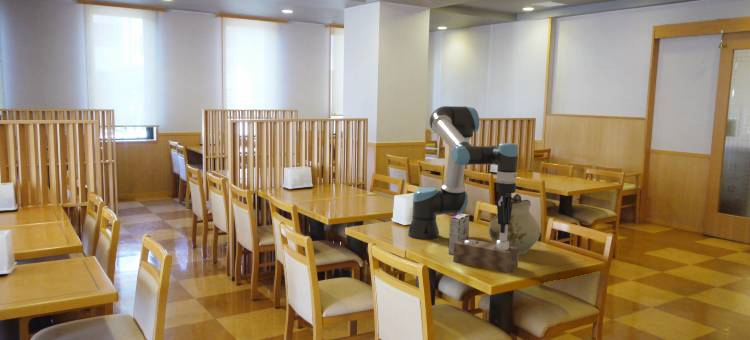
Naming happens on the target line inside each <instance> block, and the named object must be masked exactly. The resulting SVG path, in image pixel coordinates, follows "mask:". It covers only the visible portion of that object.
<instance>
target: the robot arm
mask: <svg viewBox="0 0 750 340" xmlns="http://www.w3.org/2000/svg"><path fill="white" fill-rule="evenodd" d="M429 126H430V128H431V131H433V133H435V134H436V135H438V136H439V137H440V138H441V139H442V140H443V141H444V143H445V144H446V145H447V146H448V157H447V164H446V170H445V171H446V172H445V180H444V183H443V184H442V185H441V187H440V190H438V189H437V187H421V188H417V189H416V190H415V191H413V194H412V195H413V196H412V215H411V216H412V220H411V222H410V225H409V227H408V232H407V234H408V236H409V237H411V238H413V239H414V238H415V239H421V240H433V239H437V238H439V237H440V231H439V230H440V229H439V227H438V223H437V215H458V214H463V213H464V212H465V211H466V209H467V206H468V204H469V199H468V197H469V195H468V193H467V191H466V190H465V187H464V186H463V184H464V183H463V182H464V177H465V176H464V175H465V170H466V165H467V166H468V165H470V166H471V165H474V166H475V165H480V166H481V165H484V166H485V165H487V166H489V165H493V166H497V169H496V170H497V171H496V181H497V182H496V184H495V185H496V187H495V188H496V190H495V191H496V192H498V193H499V196H498V197H499V198H498V200H496V211H497V214H498V224H500V235H499V240H501V241H507V231H508V225H507V224H510V223H509V222H510V219H511V212H512V205H513V201H514V198H513V197H512V194H515V193H516V189H517V188H516V187H517V184H516V182H517V178H518V175H517V170H518V169H517V167H518V156H519V153H518V150H519V149H518V148H519V145H518V144H516V143H512V142H511V143H510V142H501V143H499V144H498V146H497V145H485V146H481V145H480V146H478V145H471V143H470V142H469V141H470V139H472V138H473V136H474V133H476V132H477V131H478V130H479V128H480V117H479V113H478V111H477V109H475V107H471V106H457V105H456V106H453V105H452V106H450V105H449V106H448V105H447V106H446V105H442V106H440V107H437V108H436V109H435V110H433V112H432V113H431V114H430V117H429ZM497 214H496V215H497Z"/></svg>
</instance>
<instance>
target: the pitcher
mask: <svg viewBox="0 0 750 340" xmlns="http://www.w3.org/2000/svg"><path fill="white" fill-rule="evenodd" d="M512 198H514V201H513V205H512V212H511V219H510V222H509V223H510V224H507V225H508V231H507V240H508V241H509V246H511V247H517V248H519V253H518V256H520V255H526V254H527V253H528V251H529V250H530V249H531V248H532V247H533V246H534V245H535V244H536V243H537V242H538V240H539V238H540V235H541V227H540V225H539V222H538V221H537V220H536V218H535V217H534V216H533V215H532V213H531V211H530V208H531V205H532V202H531V201H530V200H529V199H523V200H522V196H521V195H520V194H518V193H516V194H515V195H513V197H512ZM488 234H489V237H490V239H491V240H492V243H494V244H496V241H497V240H498V239H499V235H500V224H498V214H496V215H495V216H494V217H493V218H492V219H491V220H490V223H489V225H488Z"/></svg>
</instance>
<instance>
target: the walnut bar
mask: <svg viewBox="0 0 750 340" xmlns="http://www.w3.org/2000/svg"><path fill="white" fill-rule="evenodd" d="M469 239H470V240H472V239H471V238H469ZM464 240H467V239H465V238H464V239H462V240H460V241H457V242H455V243H454V255H453V259H452V260H453V261H452V262H454V263H458V264H463V265H469V266H474V267H479V268H484V269H488V270H494V271H498V272H504V273H511V272H512V271H513V270H516V269H517V268H518V266H519V255H518V253H519V248H517V247H511V246H509V250H507V251H505V250H499V249H496V244H495V243H494V242H488V241H482V240H477V239H475V240H476V241H477V244H475V245H471V244H466V243H464Z"/></svg>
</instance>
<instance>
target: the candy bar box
mask: <svg viewBox="0 0 750 340" xmlns="http://www.w3.org/2000/svg"><path fill="white" fill-rule="evenodd" d="M469 233H470V214H469V213H467V214H466V213H460V214H454V215H453V216H451V217H449V234H448V235H449V239H448V254H449V255H452V256H454V243H455V242H457V241H460V240H462V239H464V238H465V239H470V237H469V236H470V234H469Z"/></svg>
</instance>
